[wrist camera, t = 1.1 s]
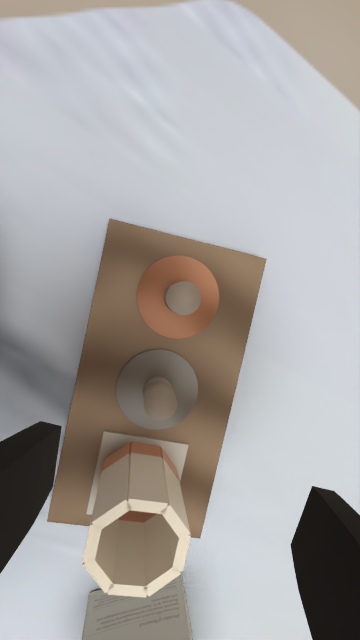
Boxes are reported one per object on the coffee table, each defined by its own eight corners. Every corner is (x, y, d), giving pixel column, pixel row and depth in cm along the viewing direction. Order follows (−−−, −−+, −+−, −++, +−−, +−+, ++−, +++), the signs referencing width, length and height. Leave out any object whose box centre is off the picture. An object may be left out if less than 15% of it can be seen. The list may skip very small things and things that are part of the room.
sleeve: (166, 518, 22) (175, 600, 16) (93, 509, 21) (75, 591, 16) (181, 449, 22) (197, 507, 16) (108, 438, 21) (96, 494, 15)
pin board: (196, 523, 24) (208, 574, 20) (53, 506, 23) (32, 558, 18) (258, 261, 23) (286, 253, 19) (111, 223, 22) (104, 205, 17)
